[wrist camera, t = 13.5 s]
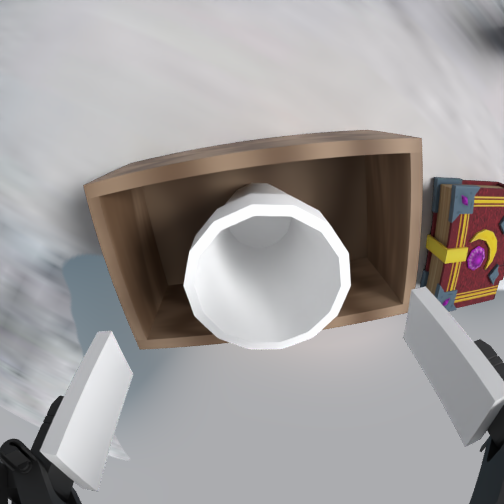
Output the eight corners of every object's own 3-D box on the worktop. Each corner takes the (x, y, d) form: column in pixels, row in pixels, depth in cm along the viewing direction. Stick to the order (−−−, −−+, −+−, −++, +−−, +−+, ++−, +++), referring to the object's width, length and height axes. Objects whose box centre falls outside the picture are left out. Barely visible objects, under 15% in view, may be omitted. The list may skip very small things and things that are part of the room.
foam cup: (326, 225, 30) (376, 297, 18) (250, 278, 32) (254, 370, 20) (268, 145, 26) (288, 165, 14) (188, 206, 28) (150, 271, 17)
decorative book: (497, 179, 29) (523, 190, 24) (476, 291, 35) (495, 309, 31) (431, 176, 29) (458, 187, 24) (414, 303, 35) (431, 325, 31)
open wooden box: (163, 289, 33) (139, 349, 24) (131, 163, 27) (83, 185, 18) (371, 260, 32) (411, 311, 23) (368, 129, 27) (421, 138, 18)
